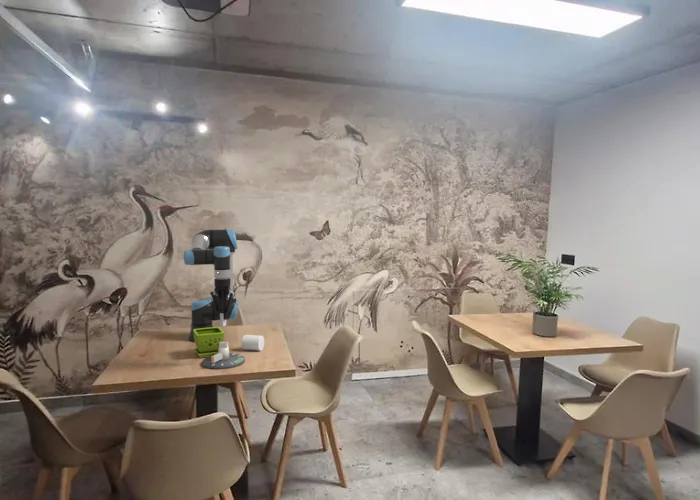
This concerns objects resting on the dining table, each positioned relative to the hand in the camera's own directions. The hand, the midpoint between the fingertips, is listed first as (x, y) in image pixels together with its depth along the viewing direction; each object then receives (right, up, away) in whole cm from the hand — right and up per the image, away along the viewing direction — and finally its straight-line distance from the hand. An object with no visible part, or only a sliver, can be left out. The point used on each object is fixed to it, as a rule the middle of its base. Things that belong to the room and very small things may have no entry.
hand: (223, 325), depth 216 cm
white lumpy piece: (-1, -17, -2) cm, 17 cm away
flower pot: (-12, -18, +15) cm, 26 cm away
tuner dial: (0, -18, +1) cm, 18 cm away
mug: (+10, -17, +25) cm, 32 cm away
